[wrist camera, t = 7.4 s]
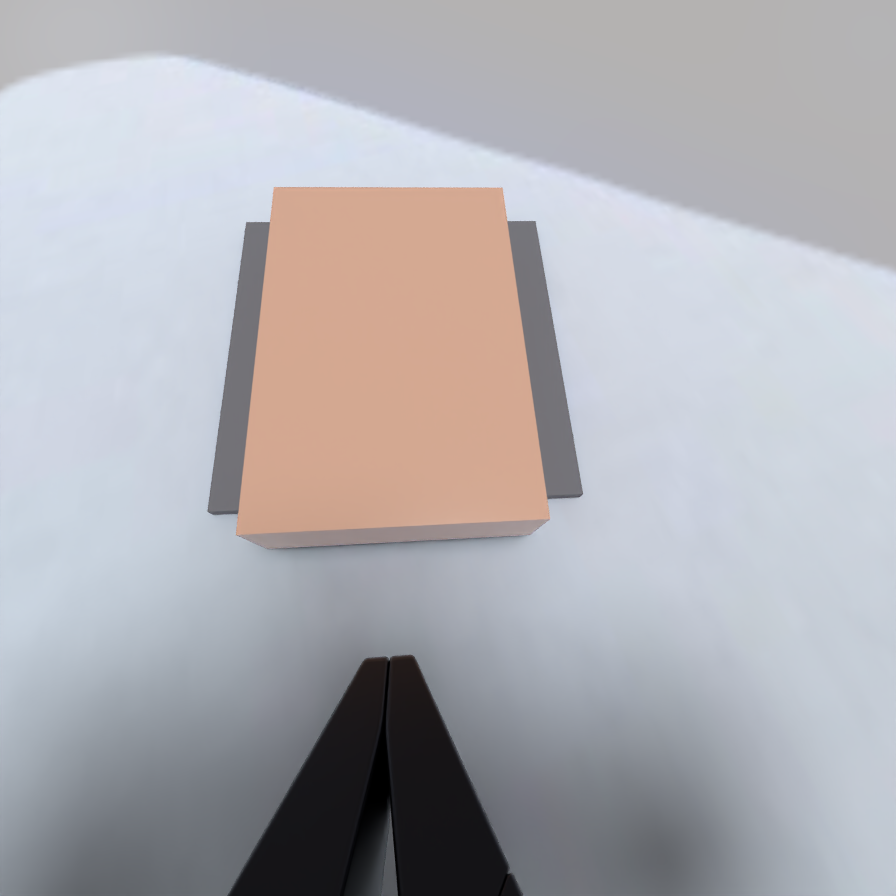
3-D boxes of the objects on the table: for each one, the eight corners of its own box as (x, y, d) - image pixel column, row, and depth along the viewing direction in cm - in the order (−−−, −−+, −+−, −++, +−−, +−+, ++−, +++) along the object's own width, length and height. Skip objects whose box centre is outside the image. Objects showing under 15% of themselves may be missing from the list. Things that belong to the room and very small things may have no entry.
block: (550, 519, 12) (502, 187, 16) (235, 534, 11) (273, 187, 15) (528, 536, 14) (492, 244, 18) (269, 549, 13) (294, 246, 18)
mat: (579, 496, 15) (582, 493, 15) (213, 514, 14) (207, 511, 14) (533, 229, 19) (535, 221, 19) (249, 230, 18) (246, 222, 18)
